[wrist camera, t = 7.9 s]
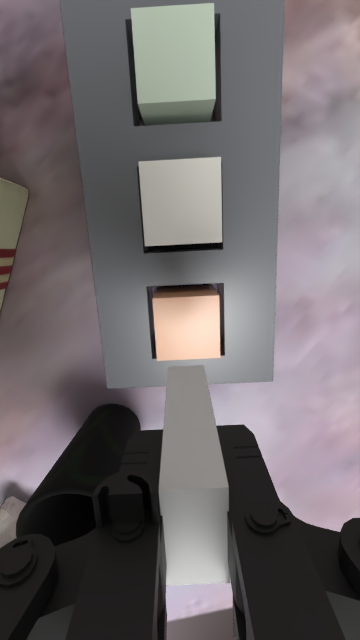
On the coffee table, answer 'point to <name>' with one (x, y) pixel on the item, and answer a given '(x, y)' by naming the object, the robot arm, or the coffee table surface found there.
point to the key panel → (168, 144)
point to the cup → (78, 477)
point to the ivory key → (181, 201)
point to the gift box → (9, 226)
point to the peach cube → (186, 322)
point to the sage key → (174, 63)
